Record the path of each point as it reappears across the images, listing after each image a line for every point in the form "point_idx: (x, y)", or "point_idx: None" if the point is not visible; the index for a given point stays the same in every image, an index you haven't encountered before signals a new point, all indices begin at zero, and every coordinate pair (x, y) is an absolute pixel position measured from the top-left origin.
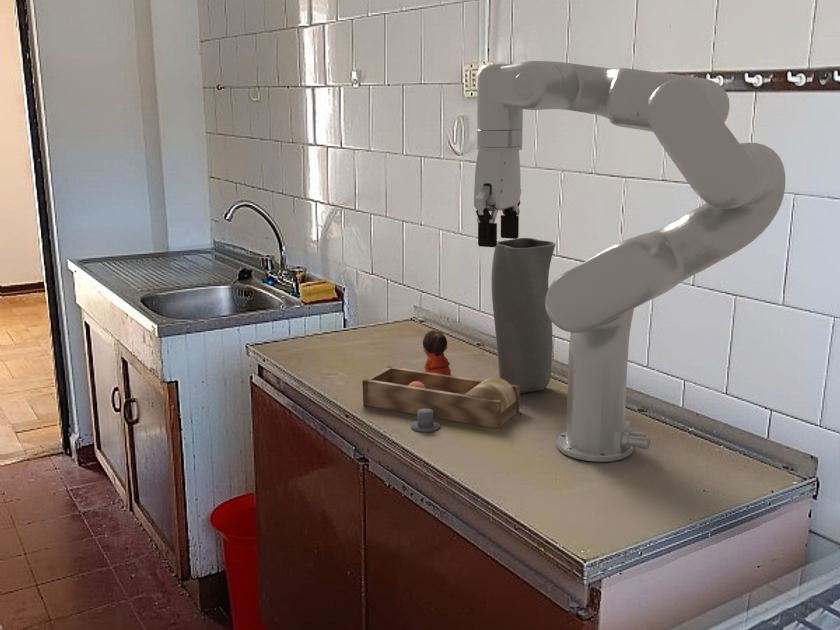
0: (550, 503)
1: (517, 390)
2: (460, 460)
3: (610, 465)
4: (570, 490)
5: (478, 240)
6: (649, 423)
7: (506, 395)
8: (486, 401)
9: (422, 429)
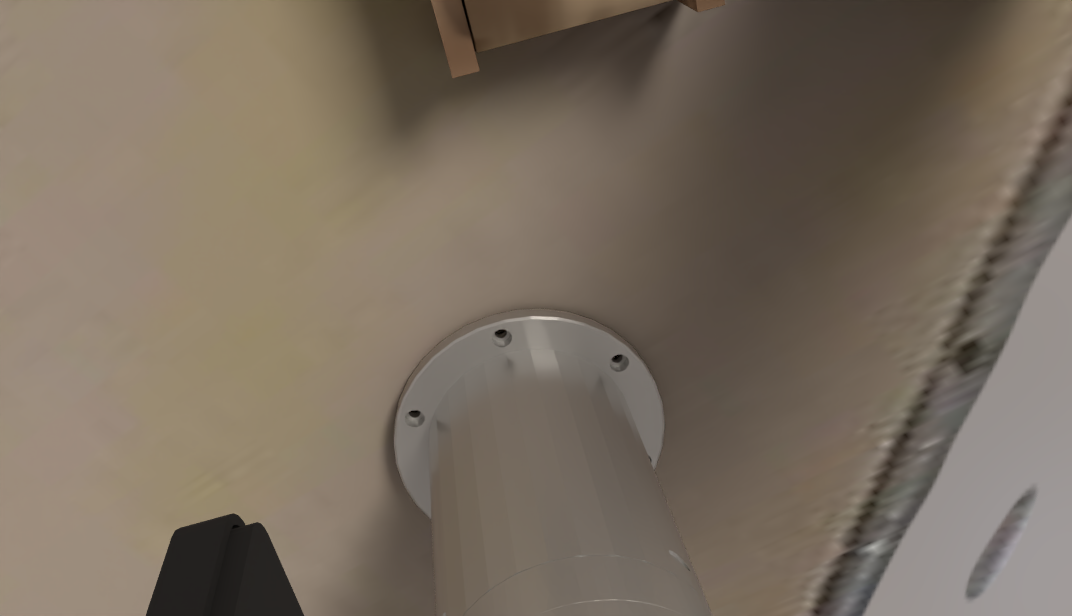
0: (65, 557)
1: (693, 7)
2: (66, 147)
3: None
4: None
5: (161, 588)
6: (853, 438)
7: (592, 14)
8: (434, 7)
9: None
